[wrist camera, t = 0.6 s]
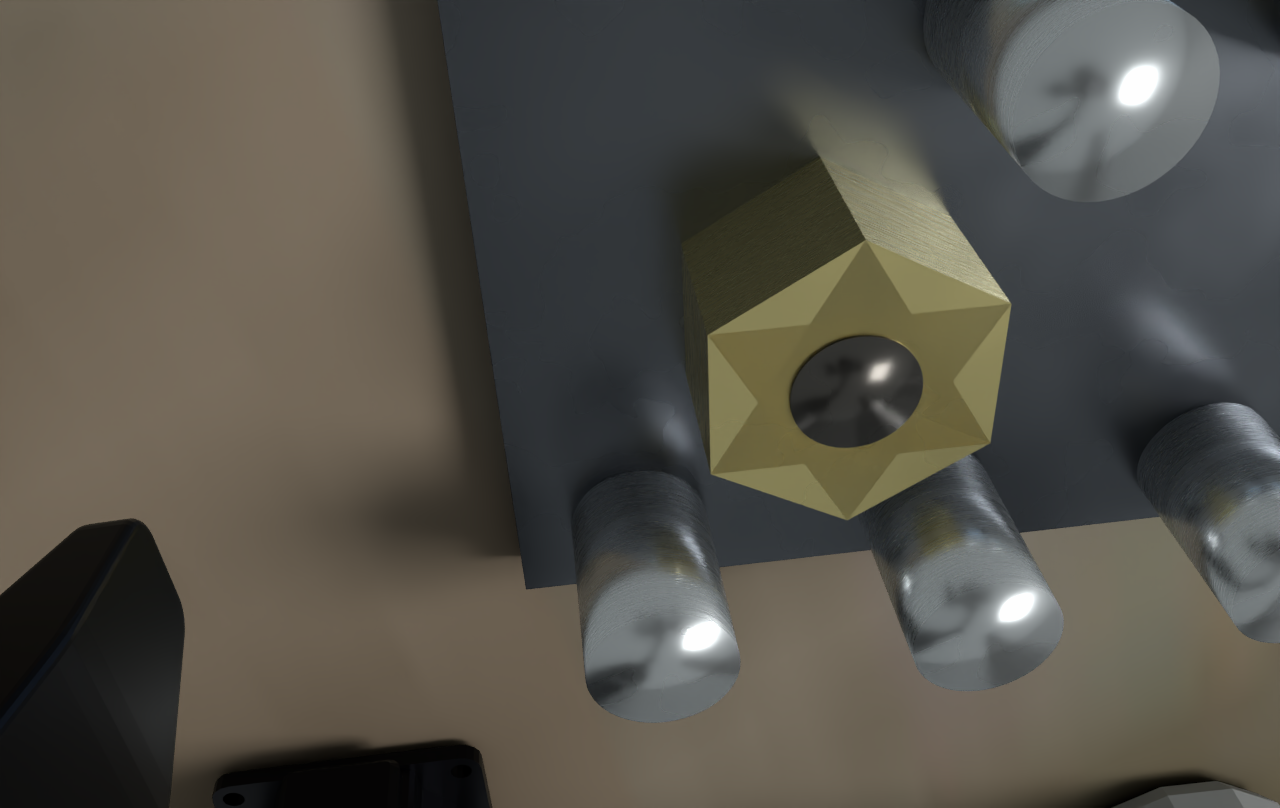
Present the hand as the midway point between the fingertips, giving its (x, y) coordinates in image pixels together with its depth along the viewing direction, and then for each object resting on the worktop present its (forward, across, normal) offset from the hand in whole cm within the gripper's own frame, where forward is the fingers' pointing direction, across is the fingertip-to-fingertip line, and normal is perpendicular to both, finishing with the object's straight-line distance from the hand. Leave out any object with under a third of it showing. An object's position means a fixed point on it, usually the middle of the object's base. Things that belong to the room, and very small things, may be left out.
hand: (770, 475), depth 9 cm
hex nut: (+12, -3, +6) cm, 14 cm away
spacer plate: (+13, -10, +6) cm, 17 cm away
